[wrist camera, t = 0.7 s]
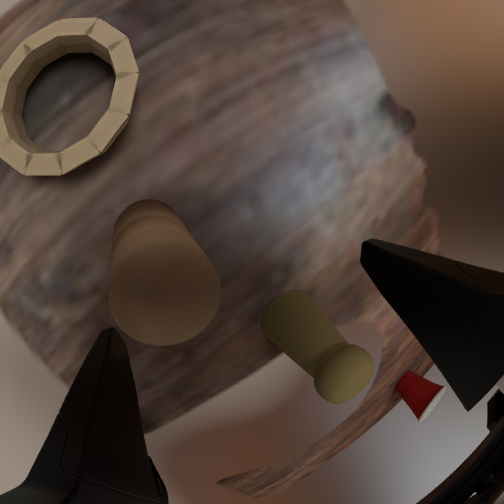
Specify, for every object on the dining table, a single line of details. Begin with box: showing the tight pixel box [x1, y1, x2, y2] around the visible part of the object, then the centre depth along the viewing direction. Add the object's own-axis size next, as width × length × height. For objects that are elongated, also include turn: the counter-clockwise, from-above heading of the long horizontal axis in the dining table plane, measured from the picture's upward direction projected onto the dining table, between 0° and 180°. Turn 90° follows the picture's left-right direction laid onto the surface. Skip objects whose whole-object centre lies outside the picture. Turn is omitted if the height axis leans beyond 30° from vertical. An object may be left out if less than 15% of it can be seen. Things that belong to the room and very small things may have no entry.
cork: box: [261, 290, 375, 404], centre depth 23 cm, size 6×6×11 cm
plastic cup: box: [395, 371, 447, 422], centre depth 51 cm, size 11×11×12 cm
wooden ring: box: [0, 18, 139, 176], centre depth 11 cm, size 9×9×4 cm
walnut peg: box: [108, 200, 222, 346], centre depth 15 cm, size 5×5×9 cm
